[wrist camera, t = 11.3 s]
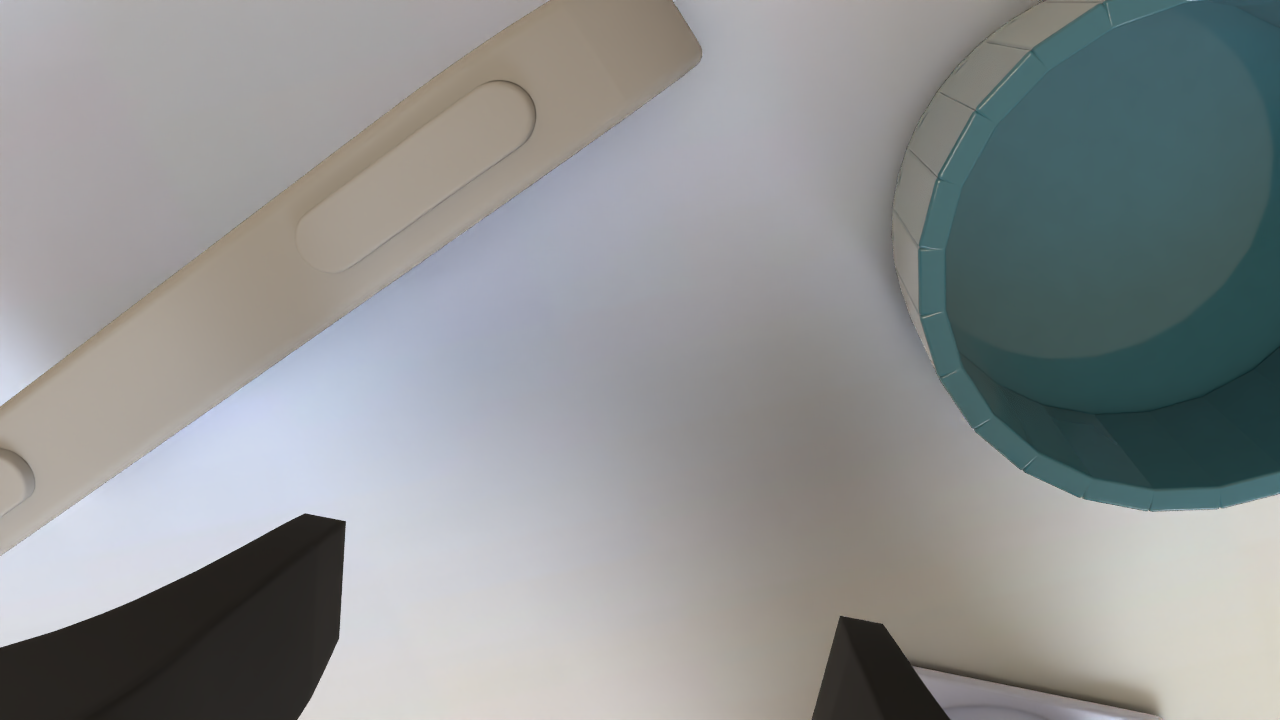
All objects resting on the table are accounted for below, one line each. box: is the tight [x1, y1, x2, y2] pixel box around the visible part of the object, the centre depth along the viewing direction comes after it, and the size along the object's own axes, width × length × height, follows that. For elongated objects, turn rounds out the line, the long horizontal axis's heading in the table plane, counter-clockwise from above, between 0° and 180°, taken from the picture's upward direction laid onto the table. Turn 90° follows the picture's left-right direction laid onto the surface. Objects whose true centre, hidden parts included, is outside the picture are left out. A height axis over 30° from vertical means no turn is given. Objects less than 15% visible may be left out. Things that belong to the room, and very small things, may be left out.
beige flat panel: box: [0, 0, 702, 556], centre depth 20 cm, size 20×2×8 cm, turn 125°
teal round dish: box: [891, 0, 1280, 512], centre depth 20 cm, size 10×10×4 cm
